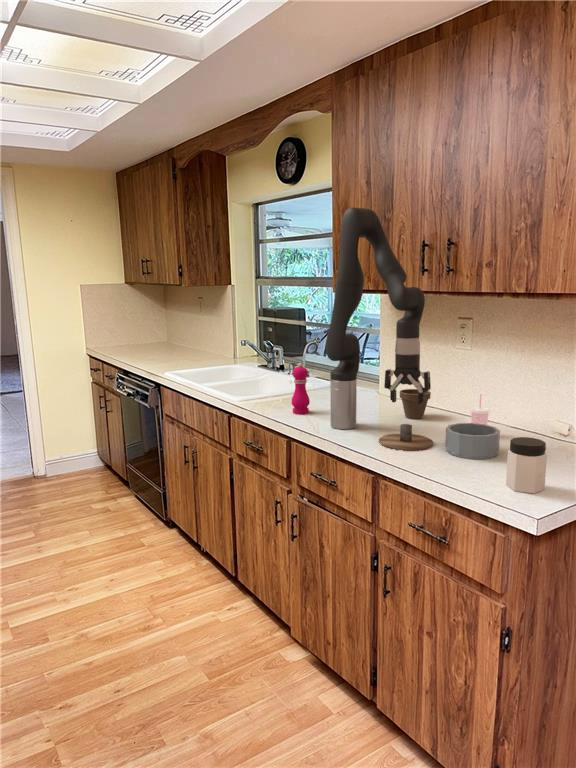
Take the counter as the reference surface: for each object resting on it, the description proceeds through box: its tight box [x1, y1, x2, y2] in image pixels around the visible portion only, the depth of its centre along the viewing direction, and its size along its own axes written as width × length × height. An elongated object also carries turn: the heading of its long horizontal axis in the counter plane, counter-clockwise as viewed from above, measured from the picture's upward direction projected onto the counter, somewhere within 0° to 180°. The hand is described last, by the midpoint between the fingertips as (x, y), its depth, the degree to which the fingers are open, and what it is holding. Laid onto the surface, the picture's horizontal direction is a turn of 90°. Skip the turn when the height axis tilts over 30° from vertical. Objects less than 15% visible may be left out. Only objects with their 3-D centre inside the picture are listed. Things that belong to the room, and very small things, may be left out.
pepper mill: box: [291, 362, 311, 415], centre depth 223 cm, size 7×7×20 cm
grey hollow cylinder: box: [444, 422, 501, 460], centre depth 171 cm, size 15×15×7 cm
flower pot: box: [399, 388, 432, 420], centre depth 214 cm, size 12×11×10 cm
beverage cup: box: [470, 393, 491, 425], centre depth 188 cm, size 6×6×14 cm
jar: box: [505, 436, 548, 494], centre depth 141 cm, size 9×8×12 cm
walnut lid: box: [378, 423, 434, 452], centre depth 181 cm, size 17×17×6 cm
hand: (407, 403), depth 179 cm, fingers open, 8 cm apart
